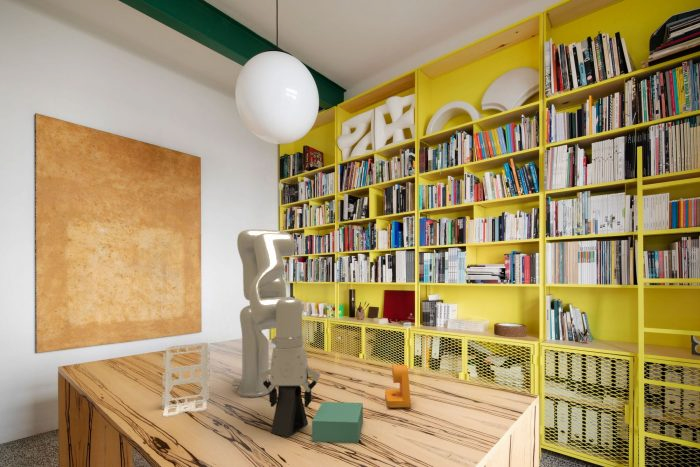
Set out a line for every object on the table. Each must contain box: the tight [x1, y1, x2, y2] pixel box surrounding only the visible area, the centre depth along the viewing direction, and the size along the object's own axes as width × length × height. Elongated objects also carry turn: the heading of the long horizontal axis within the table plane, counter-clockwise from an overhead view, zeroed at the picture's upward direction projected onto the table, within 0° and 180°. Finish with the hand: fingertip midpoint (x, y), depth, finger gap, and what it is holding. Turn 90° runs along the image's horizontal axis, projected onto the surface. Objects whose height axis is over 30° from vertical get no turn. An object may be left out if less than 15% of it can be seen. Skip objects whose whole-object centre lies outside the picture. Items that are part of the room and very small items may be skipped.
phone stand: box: [270, 385, 309, 439], centre depth 98 cm, size 9×6×12 cm, turn 150°
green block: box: [311, 401, 364, 444], centre depth 96 cm, size 12×13×5 cm
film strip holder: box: [161, 342, 211, 418], centre depth 117 cm, size 14×14×20 cm
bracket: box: [384, 364, 412, 408], centre depth 114 cm, size 11×7×12 cm, turn 179°
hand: (290, 405), depth 97 cm, fingers open, 9 cm apart
